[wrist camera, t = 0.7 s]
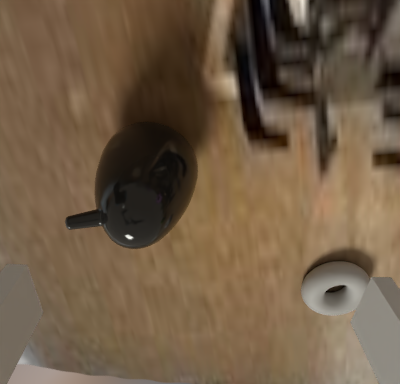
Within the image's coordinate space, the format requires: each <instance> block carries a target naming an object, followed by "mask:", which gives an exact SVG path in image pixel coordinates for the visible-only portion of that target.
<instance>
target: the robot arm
mask: <svg viewBox="0 0 400 384" xmlns="http://www.w3.org/2000/svg"><path fill="white" fill-rule="evenodd" d="M42 314H43V310H42V307H41V304H40V301H39V298H38V295H37V292H36V289H35V286H34V283H33V280H32V277H31V274H30V271H29V268H28V265H22V264H7V265H6V266H5V267H4V269H3V270H2V271H1V273H0V384H7V383H8V381H9V379H10V377H11V375H12V373H13V371H14V369H15V367H16V365H17V363H18V361H19V359H20V357H21V355H22V353H23V351H24V349H25V347H26V345H27V344H28V342H29V340H30V338H31V336H32V334H33V332H34V330H35V328H36V326H37V324H38V322H39V320H40V318H41V316H42ZM350 323H351V325H352V327H353V329H354V331H355V333H356V335H357V337H358V340H359V342H360V344H361V346H362V348H363V350H364V352H365V354H366V357H367V359H368V361H369V363H370V365H371V367H372V369H373V371H374V374H375V376H376V378H377V380H378V382H379V384H400V289H399V288H398V286H397V285H396V284H395V282H394V281H393V279H392V278H390V277H371V279H370V282H369V284H368V286H367V288H366V290H365V292H364V294H363V296H362V299H361V301H360V303H359V305H358V307H357V309H356V311H355V314H354V316H353V318H352V320H351V322H350Z"/></svg>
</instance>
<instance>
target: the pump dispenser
mask: <svg viewBox="0 0 400 384" xmlns="http://www.w3.org/2000/svg"><path fill="white" fill-rule="evenodd" d="M197 176H198V164H197V159H196V155H195V153H194V151H193V149H192V147H191V145H190V144H189V142H188V141H187V140H186V139H185V138H184V137H183V136H182V135H181V134H180V133H178V132H177V131H175V130H174V129H172V128H170V127H168V126H165V125H162V124H159V123H153V122H140V123H135V124H131V125H128V126H126V127H124V128H122V129H121V130H119V131H118V132H117V133H116V134H114V135H113V137H112V138H111V139H110V140H109V142H108V143H107V145H106V146H105V148H104V150H103V153H102V155H101V158H100V161H99V164H98V168H97V172H96V178H95V203H96V210H92V211H88V212H84V213H80V214H76V215H72V216H68V217H67V218H66V220H65V223H66V227H67V228H68V229H69V230H71V229H80V228H89V227H98V226H102V227H103V229H104V231H105V232H106V234H107V235H108V236H109V238H110V239H111V240H112V241H113V242H115V243H116V244H118V245H120V246H122V247H125V248H129V249H140V248H145V247H148V246H150V245H152V244H154V243H156V242H158V241H159V240H161V239H162V238H163V237H164V236H166V235H167V234H168V233H169V232H170V231H171V230H172V228H173V227H174V226H175V225H176V224H177V222H178V221H179V220H180V218H181V217H182V215H183V214H184V212H185V211H186V209H187V207H188V205H189V203H190V201H191V198H192V196H193V193H194V190H195V186H196V182H197Z"/></svg>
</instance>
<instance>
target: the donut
mask: <svg viewBox="0 0 400 384" xmlns="http://www.w3.org/2000/svg"><path fill="white" fill-rule="evenodd" d="M369 282H370V278H369V276H368V275H367V273H366V272H365V271H364V270H363V269H362V268H360V267H359V266H357V265H355V264H353V263H349V262H345V261H333V262H329V263H325V264H322V265H320V266H318V267H316V268H314V269H313V270H312V271H311V272H310V273H308V274H307V276H306V277H305V279H304V280H303V283H302V287H301V294H302V297H303V300H304V302H305V303H306V304H307V306H308V307H309V308H310V309H312V310H313V311H315V312H317V313H320V314H324V315H341V314H346V313H349V312H351V311H354V310H356V309H357V307H358V305H359V303H360V301H361V299H362V296H363V294H364V292H365V290H366V288H367V286H368V284H369ZM338 285H345V287H344V288H342V289H341V290H339V291H336V292H332V293H327V292H326V291H327V290H328V289H329V288H331V287H334V286H338Z"/></svg>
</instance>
